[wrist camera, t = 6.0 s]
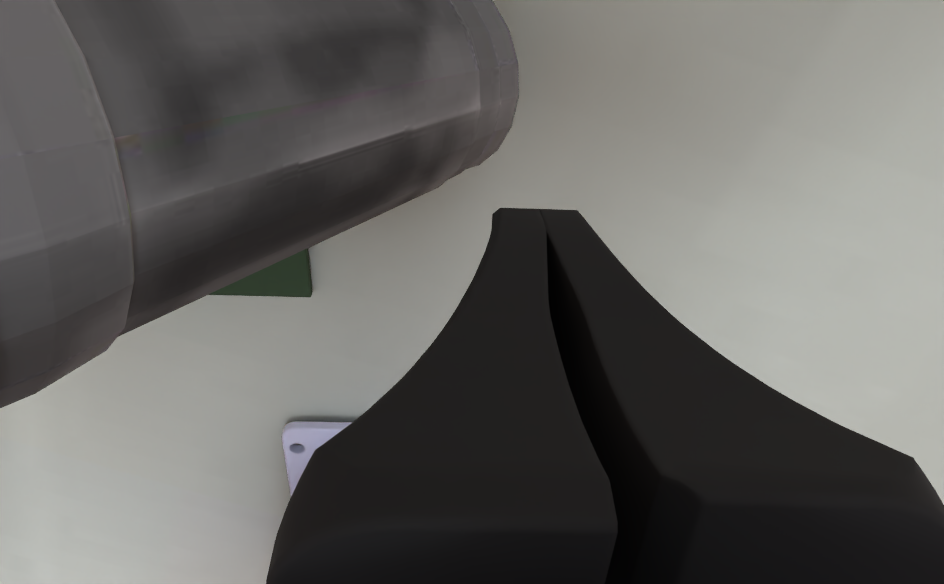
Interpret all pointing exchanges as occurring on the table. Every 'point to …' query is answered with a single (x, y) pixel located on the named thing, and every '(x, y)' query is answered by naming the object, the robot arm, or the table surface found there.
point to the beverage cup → (215, 147)
